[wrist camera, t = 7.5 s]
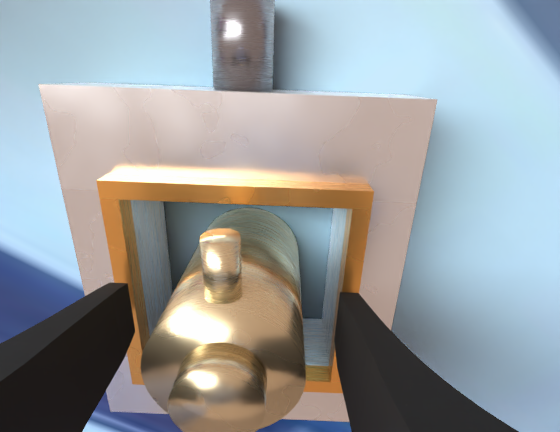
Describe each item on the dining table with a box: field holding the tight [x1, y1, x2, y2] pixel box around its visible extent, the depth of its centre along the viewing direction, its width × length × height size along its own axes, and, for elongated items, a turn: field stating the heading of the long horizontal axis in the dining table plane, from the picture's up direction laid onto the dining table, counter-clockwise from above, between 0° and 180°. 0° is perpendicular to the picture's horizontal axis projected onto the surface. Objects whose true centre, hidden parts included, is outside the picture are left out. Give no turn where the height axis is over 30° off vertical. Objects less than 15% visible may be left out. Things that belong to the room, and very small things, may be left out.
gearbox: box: [39, 0, 437, 422], centre depth 13 cm, size 17×12×4 cm
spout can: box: [141, 208, 306, 432], centre depth 12 cm, size 6×4×8 cm
